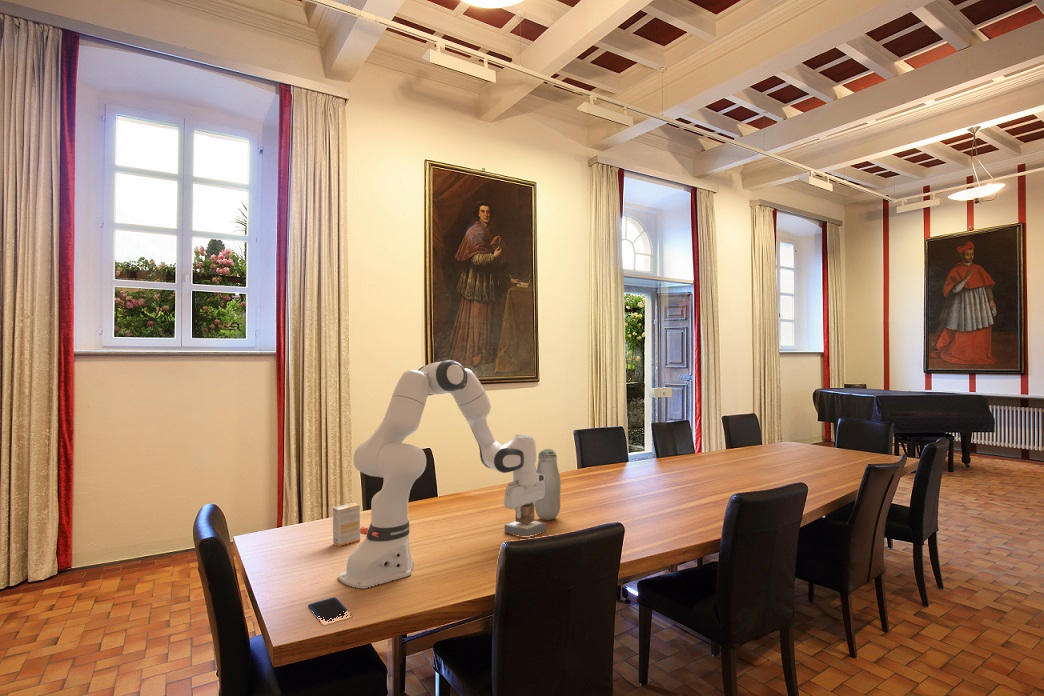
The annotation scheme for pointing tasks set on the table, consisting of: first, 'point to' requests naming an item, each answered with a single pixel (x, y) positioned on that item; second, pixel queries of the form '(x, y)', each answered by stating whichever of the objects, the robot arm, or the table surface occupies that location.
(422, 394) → the robot arm
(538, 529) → the base block
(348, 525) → the supplement box
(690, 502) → the table surface
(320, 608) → the cell phone
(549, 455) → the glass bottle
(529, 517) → the walnut block
